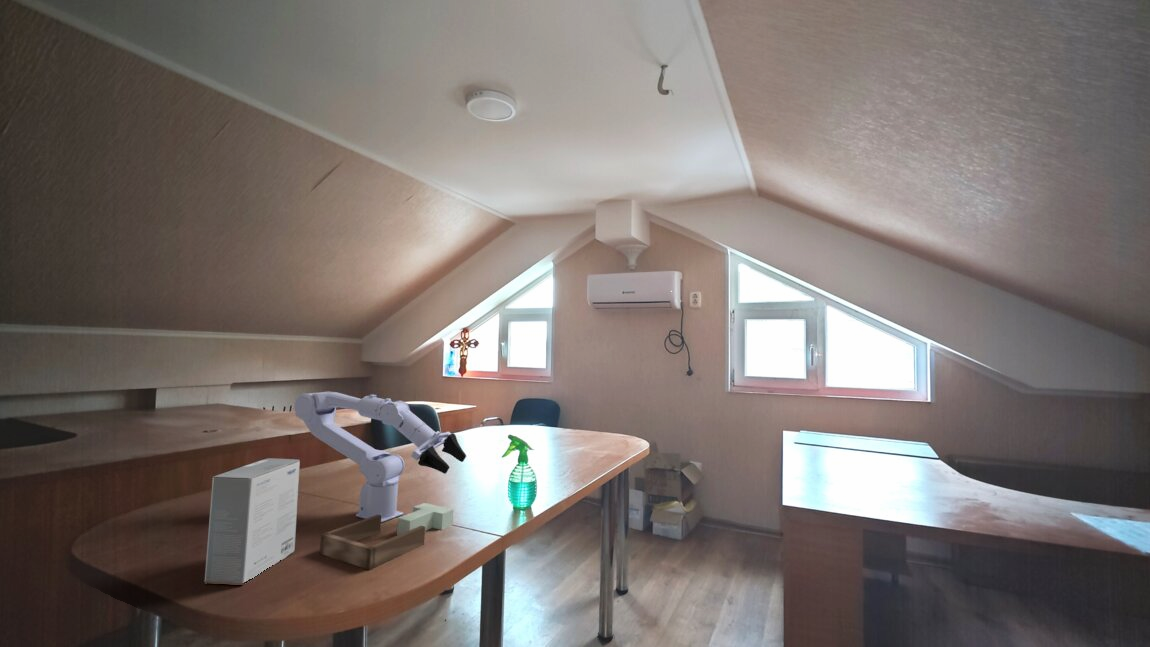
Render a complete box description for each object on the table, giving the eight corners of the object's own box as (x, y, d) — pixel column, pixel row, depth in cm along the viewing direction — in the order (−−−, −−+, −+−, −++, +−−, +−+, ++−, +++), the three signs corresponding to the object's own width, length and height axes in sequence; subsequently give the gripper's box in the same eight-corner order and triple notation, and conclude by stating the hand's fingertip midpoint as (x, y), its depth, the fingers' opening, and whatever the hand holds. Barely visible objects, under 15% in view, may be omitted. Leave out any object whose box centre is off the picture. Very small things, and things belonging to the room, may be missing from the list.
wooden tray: (319, 553, 100) (320, 534, 100) (376, 531, 114) (377, 514, 114) (369, 570, 93) (370, 549, 94) (424, 544, 107) (425, 526, 107)
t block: (387, 532, 113) (389, 515, 114) (423, 517, 124) (424, 502, 125) (418, 540, 109) (419, 523, 109) (452, 525, 120) (453, 509, 120)
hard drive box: (261, 550, 101) (269, 457, 102) (295, 552, 100) (302, 459, 102) (201, 585, 85) (211, 475, 87) (241, 587, 85) (251, 477, 86)
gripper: (406, 430, 116) (445, 464, 113) (441, 413, 129) (477, 443, 126) (395, 451, 118) (434, 485, 115) (431, 432, 131) (466, 462, 128)
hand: (456, 464), depth 121 cm, fingers open, 7 cm apart
